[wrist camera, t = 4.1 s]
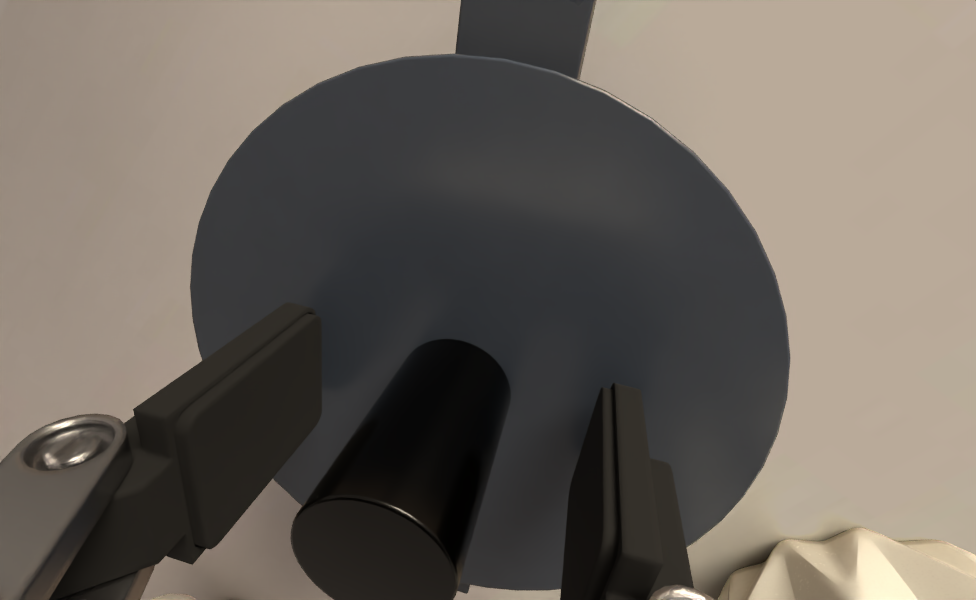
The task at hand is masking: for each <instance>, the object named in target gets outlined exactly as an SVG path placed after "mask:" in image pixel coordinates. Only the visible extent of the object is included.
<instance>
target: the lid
mask: <svg viewBox="0 0 976 600" xmlns="http://www.w3.org/2000/svg"><path fill="white" fill-rule="evenodd" d="M190 291H191V304H192V317H193V323H194V328H195V333H196V338H197V343H198V348H199V351H200V354H201V357H202V360H204V359H206V358H207V357H209V356H210V355H212V354H213V353H214V352H216V351H217V350H219V349H220V348H222V347H223V346H224V345H226V344H227V343H229V342H230V341H232V340H233V339H234V338H236V337H237V336H239V335H240V334H242V333H243V332H244V331H246V330H247V329H249V328H250V327H252V326H253V325H254V324H256V323H257V322H259V321H260V320H262V319H263V318H264V317H266V316H267V315H269V314H270V313H272V312H273V311H274V310H276V309H277V308H279V307H280V306H282V305H283V304H285V303H287V302H290V303H294V304H298V305H302V306H306V307H310V308H313V309H314V310H315V313H316V316H319V317H320V318H321V322H322V413H321V417H320V420H319V422H318V424H317V425H316V427H315V428H314V429H313V430H312V431H311V433H310V434H309V435H308V436H307V437H306V439H305V440H304V441H303V442H302V443H301V445H300V446H299V447H298V448H297V450H296V451H295V452H294V453H293V454H292V456H291V457H290V458H289V459H288V460H287V462H286V463H285V464H284V465H283V466H282V468H281V469H280V470H279V471H278V472H277V474H276V475H275V476H274V477H273V479H274V480H275V481H276V482H277V483H278V484H279V485H280V486H281V487H282V488H283V489H284V490H285V491H287V492H288V493H289V494H290V495H291V496H292V497H293V498H294V499H295V500H296V501H297V502H298V503H300V504H301V505H302V507H301V509H300V510H299V512H298V513H297V514H296V516H295V519H294V521H293V525H292V529H291V544H292V548H293V552H294V554H295V557H296V559H297V561H298V563H299V564H300V566H301V568H302V569H303V571H304V572H305V573H306V575H307V576H308V577H309V578H310V579H311V580H312V582H313V583H314V584H315V585H316V586H318V587H319V588H320V589H321V590H322V591H323V592H325V593H326V594H327V595H328V596H330V597H331V598H333V599H334V600H453V599H454V597H455V596H456V593H457V590H458V586H459V583H464V584H470V585H475V586H481V587H486V588H497V589H508V590H557V589H561V585H562V572H563V560H564V547H565V534H566V522H567V509H568V497H569V490H570V485H571V481H572V477H573V474H574V471H575V468H576V464H577V461H578V458H579V455H580V452H581V449H582V445H583V442H584V439H585V436H586V433H587V430H588V426H589V423H590V420H591V417H592V414H593V411H594V407H595V404H596V401H597V398H598V395H599V392H600V389H601V388H602V387H604V388H608V389H610V388H611V385H612V384H613V383H617V384H621V385H625V386H629V387H633V388H637V389H640V390H641V393H642V401H643V409H644V417H645V424H646V432H647V440H648V447H649V455H650V458H652V459H655V460H659V461H663V462H667V463H669V465H670V466H671V469H672V472H673V478H674V483H675V489H676V494H677V500H678V505H679V510H680V516H681V521H682V527H683V532H684V538H685V543H686V547H688V546H690V545H691V544H693V543H694V542H696V541H697V540H698V539H700V538H701V537H702V536H703V535H705V534H706V533H707V532H708V531H709V530H711V529H712V528H713V527H714V526H716V525H717V524H718V523H719V522H720V521H722V519H723V518H724V517H725V516H726V515H727V514H728V513H729V512H730V511H731V510H732V509H733V507H734V506H735V505H736V504H737V503H738V502H739V501H740V500H741V499H742V498H743V496H744V495H745V494H746V492H747V491H748V489H749V488H750V486H751V485H752V483H753V482H754V480H755V478H756V477H757V475H758V474H759V472H760V471H761V469H762V468H763V466H764V464H765V462H766V459H767V457H768V455H769V453H770V450H771V448H772V446H773V444H774V441H775V439H776V437H777V435H778V431H779V427H780V423H781V419H782V415H783V412H784V408H785V404H786V400H787V393H788V380H789V368H790V349H789V338H788V327H787V316H786V313H785V309H784V305H783V301H782V298H781V294H780V290H779V286H778V283H777V279H776V275H775V272H774V270H773V268H772V266H771V264H770V261H769V259H768V257H767V255H766V253H765V250H764V248H763V246H762V244H761V241H760V239H759V237H758V235H757V233H756V231H755V229H754V228H753V226H752V225H751V223H750V222H749V220H748V219H747V217H746V216H745V214H744V213H743V211H742V210H741V208H740V207H739V205H738V204H737V202H736V200H735V199H734V197H733V196H732V194H731V193H730V191H729V190H728V189H727V188H726V187H725V186H724V185H723V183H722V182H721V181H720V180H719V179H718V178H717V177H716V176H715V175H714V174H713V172H712V171H711V170H710V169H709V168H708V167H707V166H706V165H705V164H704V163H703V161H702V160H701V159H700V158H699V157H698V156H697V155H696V154H695V153H694V152H693V151H692V150H691V149H689V148H688V147H687V146H686V145H685V144H683V143H682V142H681V141H680V140H678V139H677V138H676V137H675V136H673V135H672V134H671V133H670V132H669V131H667V130H666V129H665V128H664V127H662V126H661V125H660V124H659V123H657V122H656V121H655V120H654V119H652V118H651V117H649V116H648V115H646V114H644V113H643V112H641V111H639V110H638V109H636V108H634V107H632V106H631V105H629V104H627V103H626V102H624V101H622V100H621V99H619V98H617V97H616V96H614V95H612V94H610V93H609V92H607V91H605V90H603V89H600V88H598V87H595V86H593V85H590V84H588V83H585V82H583V81H580V80H578V79H576V78H573V77H571V76H568V75H566V74H563V73H561V72H558V71H554V70H550V69H546V68H542V67H538V66H534V65H530V64H526V63H522V62H518V61H513V60H509V59H505V58H495V57H484V56H473V55H462V54H442V55H425V56H409V57H401V58H397V59H392V60H388V61H383V62H379V63H374V64H370V65H365V66H361V67H357V68H355V69H352V70H350V71H347V72H345V73H342V74H340V75H337V76H335V77H332V78H330V79H327V80H325V81H322V82H320V83H318V84H316V85H314V86H313V87H311V88H309V89H308V90H306V91H304V92H303V93H301V94H299V95H298V96H296V97H295V98H293V99H291V100H290V101H288V102H286V103H285V104H283V105H282V106H281V107H279V108H278V109H277V110H276V111H275V112H274V113H272V114H271V115H270V116H269V117H268V118H267V119H266V120H264V121H263V122H262V123H261V124H260V125H259V126H257V127H256V128H255V129H254V130H253V131H252V132H251V133H250V135H249V136H248V137H247V138H246V139H245V141H244V142H243V143H242V144H241V146H240V147H239V148H238V149H237V150H236V152H235V153H234V154H233V155H232V157H231V158H230V159H229V160H228V162H227V164H226V165H225V167H224V169H223V171H222V172H221V174H220V176H219V178H218V179H217V181H216V183H215V185H214V186H213V188H212V190H211V192H210V195H209V197H208V200H207V203H206V205H205V208H204V211H203V213H202V216H201V219H200V221H199V225H198V230H197V234H196V239H195V244H194V249H193V254H192V266H191V283H190Z"/></svg>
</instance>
